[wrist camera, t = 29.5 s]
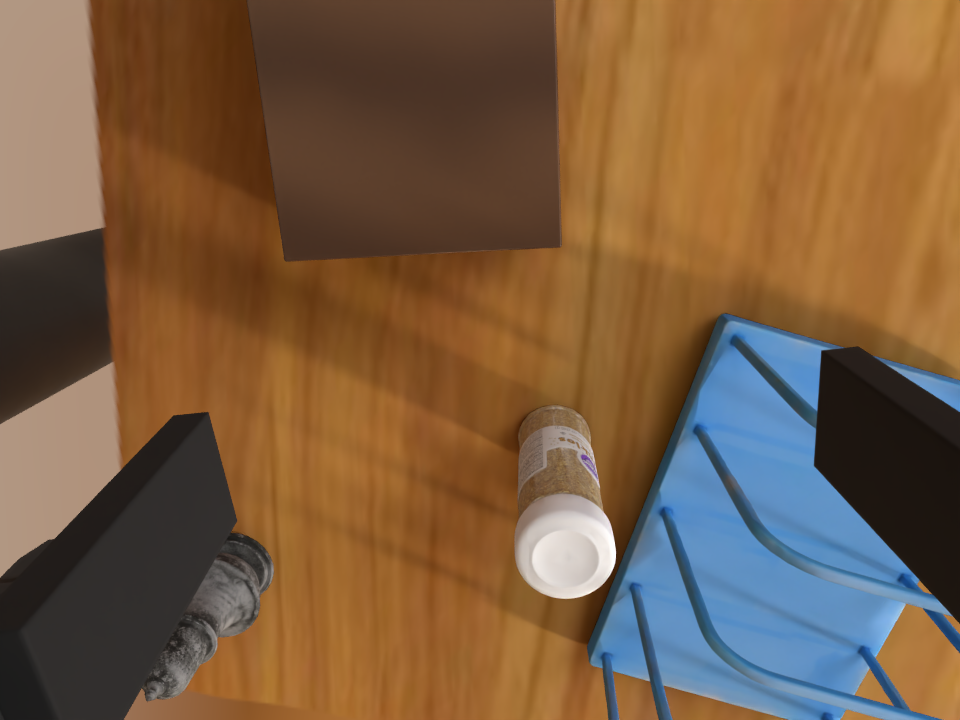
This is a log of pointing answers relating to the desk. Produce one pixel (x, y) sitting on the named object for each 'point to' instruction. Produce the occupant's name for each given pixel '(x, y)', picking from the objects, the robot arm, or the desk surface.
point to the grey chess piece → (213, 614)
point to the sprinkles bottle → (560, 507)
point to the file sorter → (758, 549)
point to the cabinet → (410, 125)
